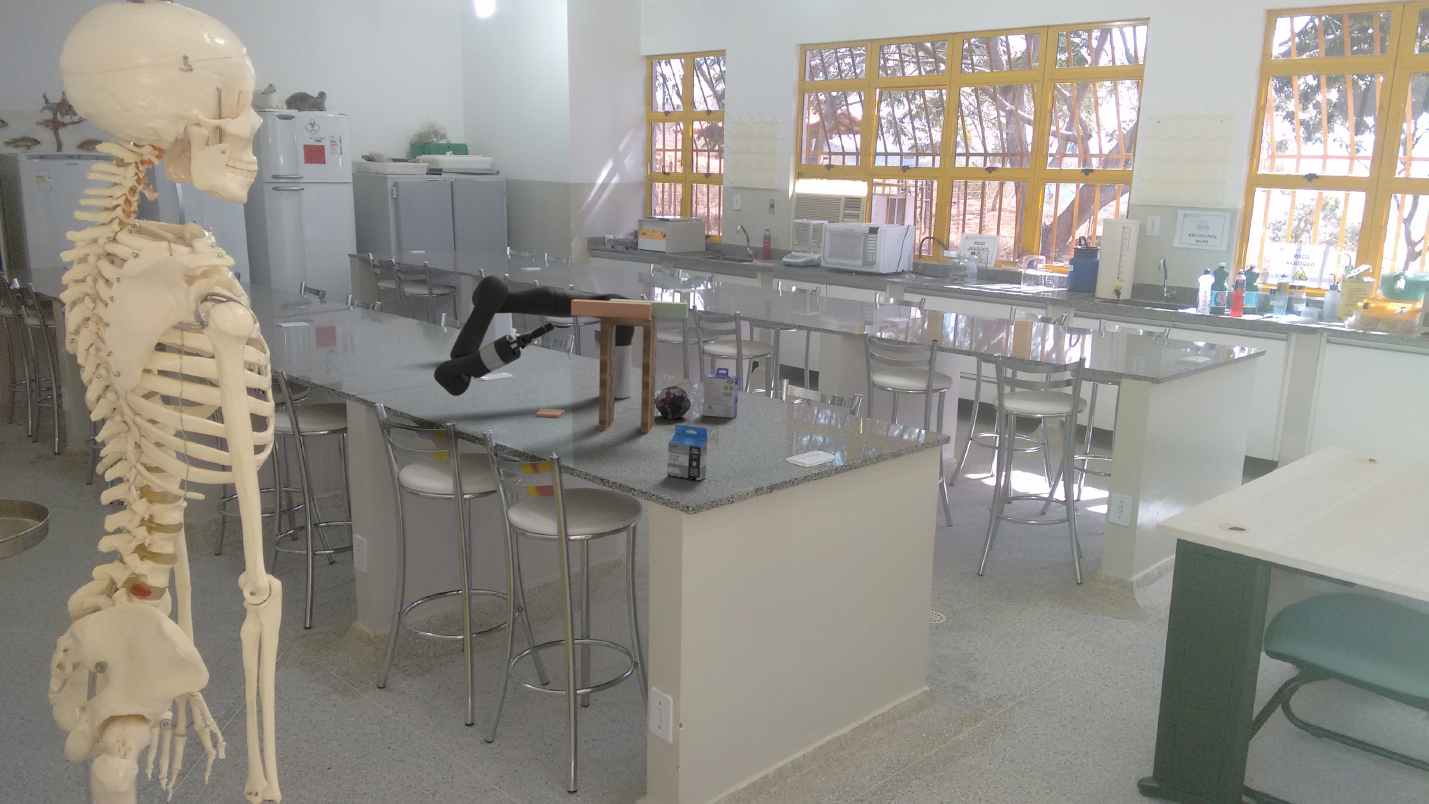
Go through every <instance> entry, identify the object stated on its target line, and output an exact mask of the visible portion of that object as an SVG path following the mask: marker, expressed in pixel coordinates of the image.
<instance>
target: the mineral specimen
mask: <svg viewBox="0 0 1429 804" xmlns="http://www.w3.org/2000/svg"><path fill="white" fill-rule="evenodd" d="M691 405H692V402H691V399H690V397H689V395H688V393H687V392H686V390H685V389H683V388H682V387H680V386H677V385H673V386H668V387H665V388H663V389H662V390H661V391H660V392H659V393H658V395H657V397H655V408H656V409H657V410H658V413H659V414H660V415H661V416H663V417H664V418H667V419H668V418H669V420H673V419H678V418H680V417H683V416H685V415H686V413H687V412H688V411H689V410H690V409H691V407H692V406H691Z"/></svg>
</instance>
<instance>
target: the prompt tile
mask: <svg viewBox="0 0 1429 804" xmlns="http://www.w3.org/2000/svg"><path fill="white" fill-rule="evenodd" d="M564 414H565V409H556V408H555V409H554V408H541V409H539V410H538V411H537V412H535V417H544V418H560V417H561V416H562V415H564Z"/></svg>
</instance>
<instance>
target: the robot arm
mask: <svg viewBox="0 0 1429 804" xmlns="http://www.w3.org/2000/svg"><path fill="white" fill-rule="evenodd" d="M508 285H509V284H508V282H506V280H504V278H502V277H501V276H499V275H489V276H485V277H484V278H482V280H480V282H479V283H478V284H477V286H476V287H475V289H474V291H473V293H472V295H471V296H472V303H473V305H474V309H473V311H472V313H471V315H470V316H469V315H468V318H467V319H466V321H465V323H464V325H463V327H462V328H461V330H460V332H459V334H458V336H457V338H456V339H455V342H454V344H453V346H452V348H451V351H450V354H449V358H450V359H449V360H446V361H443V362H442V363H440V364H439V365H438V366H437V367H436V368H435V369H434V372H433V378H434V380H435V381H436V383H438V385H440V387H442V388H443V389H444V390H445V391H446V392H447V393H448V394H449V395H451V396H452V397H453V396H454V397H459V396H461V395H463V394H464V393H466V391H467V390H468V388H469V387H470V385H471V381H472V378H474V379H480V378H483V377H484V376H486V375H488V374H490V373H492V372H494V371H496V370H499V369H501V368H503V367H505V366H507V365H509V364H511V363H512V362H514V361H516V360H518V359H520V358H521V356H522V352H521V349H522V350H524V349H525V348H527V347H529V346H530V345H531V344H533V343H535V342H537V341H538V340H539V338H540V337H544V336H545V335H546V334H547V333H549V332H551V331H553V330H554V329H555V326H554V323H553V322H548V323H546V324H544V325H543V326H540V327H537V328H536V329H534V330H533V329H530V330H528V331H527V332H523V333H520V334H519V335H517V336H515V338H514V336H513V337H512V336H511V335H505V336H503V337H501V338H499V339H497V340H495V341H494V342H492V343H490V344H488V345H486V346H485V347H484V348H482V349H481V350H479V348H480V346H481V343H482V341H483V339H484V336H485V334H486V331H487V329H488V327H489V325H490V323H491V321H492V319H493V317H494V315H495V313H511V314H520V315H521V314H523V315H533V316H541V317H543V316H544V317H549V318H561V319H563V318H564V319H565V318H569V319H570V318H577V317H580V316H578V315H571V301H572V300H574V299H578V300H599V301H609V300H611V299H625V300H632V298H630V297H628V296H626V295H622V294H619V293H589V292H588V293H586V292H582V291H579V290H575V289H574V290H573V289H570V288H562V287H555V286H554V287H553V286H541V287H535V288H531V289H529V288H528V289H524V290H518V291H517V290H516V291H515V290H509V286H508ZM588 317H590V318H596V319H600V318H601V317H598V316H588ZM635 327H636V326H622V325H616V327H615V381H614V399H627V398H630V397H631V393H632V391H631V390H632V389H631V386H632V381H631V380H632V347H633V346H632V345H633V344H632V340H633V337H634V334H635ZM520 348H521V349H520ZM478 350H479V351H478Z"/></svg>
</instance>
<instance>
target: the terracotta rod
mask: <svg viewBox="0 0 1429 804" xmlns="http://www.w3.org/2000/svg"><path fill="white" fill-rule="evenodd" d="M571 315H578V316H579V317H589V316H598V317H618V318H638V319H650V318H652V303H640V302H620V301H599V300H578V299H574V300H572V301H571Z"/></svg>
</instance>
